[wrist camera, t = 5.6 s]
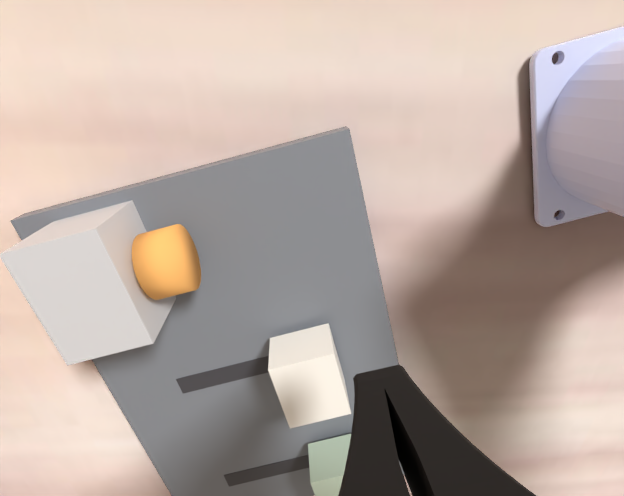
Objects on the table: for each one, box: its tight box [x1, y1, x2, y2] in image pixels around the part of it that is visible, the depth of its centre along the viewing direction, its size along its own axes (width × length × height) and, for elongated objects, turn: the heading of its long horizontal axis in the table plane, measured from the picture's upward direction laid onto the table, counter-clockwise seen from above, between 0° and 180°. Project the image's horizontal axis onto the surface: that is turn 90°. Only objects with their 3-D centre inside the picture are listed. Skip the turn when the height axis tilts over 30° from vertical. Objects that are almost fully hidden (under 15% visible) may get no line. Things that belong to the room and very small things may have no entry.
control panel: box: [0, 127, 404, 496], centre depth 20 cm, size 15×21×5 cm
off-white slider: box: [268, 323, 351, 428], centre depth 19 cm, size 3×4×2 cm
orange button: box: [132, 224, 201, 300], centre depth 16 cm, size 2×3×3 cm, turn 14°
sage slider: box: [308, 434, 351, 496], centre depth 22 cm, size 3×4×2 cm
